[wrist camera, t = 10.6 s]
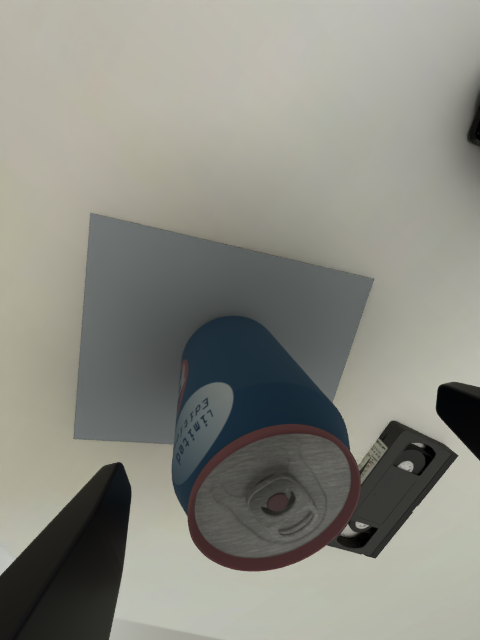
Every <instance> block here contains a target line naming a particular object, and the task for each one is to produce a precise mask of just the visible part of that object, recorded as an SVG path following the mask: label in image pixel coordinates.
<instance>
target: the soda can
mask: <svg viewBox="0 0 480 640" xmlns="http://www.w3.org/2000/svg"><path fill="white" fill-rule="evenodd" d="M172 481H173V486H174V490H175V493H176V496H177V498H178V500H179V502H180V504H181V506H182V507H183V509H184V511H185V513H186V514H187V516H188V526H189V531H190V535H191V537H192V540H193V542H194V544H195V545H196V546H197V548H198V549H199V550H200V551H201V552H202V553H203V554H204V555H205V556H206V557H207V558H209V559H210V560H212V561H213V562H215V563H217V564H219V565H222V566H224V567H227V568H230V569H234V570H240V571H267V570H273V569H278V568H282V567H285V566H289V565H291V564H294V563H297V562H299V561H301V560H303V559H305V558H307V557H309V556H311V555H313V554H314V553H316V552H318V551H319V550H320V549H322V548H323V547H325V546H326V545H327V544H328V543H329V542H331V541H332V540H333V539H334V538H335V537H336V536H337V535H338V534H339V533H340V532H341V530H342V529H343V528H344V527H345V525H346V524H347V523H348V521H349V520H350V518H351V516H352V514H353V513H354V510H355V508H356V506H357V503H358V500H359V496H360V489H361V478H360V472H359V468H358V465H357V463H356V460H355V458H354V457H353V455H352V453H351V452H350V446H349V439H348V433H347V429H346V425H345V423H344V420H343V418H342V416H341V414H340V412H339V411H338V409H337V408H336V407H335V406H334V404H333V403H332V402H331V401H330V400H329V399H328V398H327V397H326V395H325V394H324V393H323V392H322V391H321V390H320V389H319V387H318V386H317V385H316V384H315V383H314V382H313V381H312V379H311V378H310V377H309V376H308V375H307V374H306V373H305V372H304V370H303V369H302V368H301V367H300V366H299V365H298V364H297V362H296V361H295V360H294V359H293V358H292V357H291V356H290V354H289V353H288V352H287V351H286V350H285V349H284V348H283V347H282V345H281V344H280V343H279V342H278V341H277V340H276V339H275V337H274V336H273V335H272V334H271V333H270V332H269V331H268V330H267V329H266V328H265V327H264V326H263V325H262V324H260V323H258V322H257V321H255V320H252V319H250V318H247V317H242V316H225V317H220V318H217V319H214V320H212V321H209V322H208V323H206V324H204V325H203V326H201V327H200V328H199V329H198V330H197V331H196V332H195V333H194V334H193V335H192V336H191V337H190V339H189V340H188V342H187V344H186V346H185V348H184V351H183V354H182V360H181V370H180V381H179V392H178V404H177V415H176V426H175V437H174V448H173V459H172Z"/></svg>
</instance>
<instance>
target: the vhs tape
mask: <svg viewBox="0 0 480 640" xmlns="http://www.w3.org/2000/svg"><path fill="white" fill-rule="evenodd" d="M384 432H385V433H384ZM384 432H382V434H381V435H380V436H379V438H378V439H377V441H376V442H375V444H374V445H373V446H372V448H371V449H370V450H369V452H368V453H367V455H366V456H365V457H364V459H363V460H362V461H361V463H360V464H359V465H358V468H359V472H360V478H361V489H360V496H359V500H358V503H357V506H356V508H355V510H354V513H353V514H352V516H351V518H350V520H349V521H348V523H347V524H349V526H350V528H351V529H352V530H353V531H355V532H364V533H367V534H368V536H369V537H370V539H369V541H368V542H367V541H364V540H360V539H357V538H356V539H355V540H354V539H350V538H346V537H343V536H339V535H340V534H341V532H342V531H343V530H344V528H345V527H346V526H347V524H346V525H345V527H344V528H343V529H342V530H341V532H340V533H339V534H338V535H337V536H336V537H335V538H334V539H333V540H332V541H331V542H329V543H328V544H327V545H328V546H332V547H335V548H339V549H343V550H347V551H351V552H354V553H358V554H364V555H365V556H368V557H372V558H376V557H377V556H378V555H379V554H380V552H381V551H382V550H383V549H384V547H385V546H386V545H387V544H388V542H389V541H390V540H391V539H392V537H393V536H394V535H395V534H396V532H397V531H398V530H399V529H400V527H401V526H402V525H403V524H404V523H405V521H406V520H407V519H408V518H409V516H410V515H411V514H412V513H413V512H412V511H413V510H414V509H415V508H416V506H418V505H419V504H420V503H421V501H422V500H423V499H424V498H425V496H426V495H427V494H428V493H429V491H430V490H431V489H432V488H433V487H434V485H435V484H436V483H437V482H438V480H439V479H440V478H441V477H442V475H443V474H444V473H445V472H446V470H447V469H448V468H449V467H450V465H451V464H452V463H453V462H454V460H455V459H456V458H457V457H458V455H457V454H456V453H454V452H453V451H452V450H451V449H449V448H448V447H447V446H446V445H444V444H442V443H440V442H437V441H436V440H434V439H432V438H430V437H428V436H426V435H423V434H421V433H419V432H417V431H415V430H413V429H411V428H409V427H407V426H405V425H403V424H401V423H399V422H397V421H391V422H390V423H389V424H388V426H387V427H386V428H385V430H384ZM412 443H424V444H426V445H429V446H430V447H431V448H433V451H427V450H425V449H423V448H420V447H418V446H416V445H414V444H412ZM421 452H422V453H424V454H426V458H425V457H424V455H423V454H422V453H421ZM422 471H423V472H422ZM375 527H376V528H378V529H376V528H375ZM361 541H362V542H361ZM365 542H366V543H365Z"/></svg>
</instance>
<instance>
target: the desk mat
mask: <svg viewBox="0 0 480 640" xmlns="http://www.w3.org/2000/svg"><path fill="white" fill-rule="evenodd" d="M373 281H374V279H373V278H369V277H364V276H360V275H356V274H351V273H347V272H343V271H338V270H334V269H330V268H325V267H321V266H317V265H312V264H308V263H304V262H300V261H295V260H291V259H287V258H282V257H278V256H274V255H269V254H265V253H261V252H256V251H252V250H248V249H244V248H239V247H235V246H231V245H226V244H222V243H218V242H213V241H209V240H205V239H200V238H196V237H192V236H187V235H183V234H179V233H175V232H170V231H166V230H162V229H157V228H153V227H149V226H144V225H140V224H136V223H131V222H127V221H123V220H119V219H114V218H110V217H106V216H101V215H97V214H93V213H90V226H89V239H88V252H87V266H86V279H85V292H84V305H83V318H82V332H81V345H80V358H79V371H78V385H77V398H76V411H75V424H74V438H73V439H83V440H102V441H121V442H140V443H159V444H174V437H175V426H176V415H177V404H178V392H179V381H180V370H181V360H182V354H183V351H184V348H185V346H186V344H187V342H188V340H189V339H190V337H191V336H192V335H193V334H194V333H195V332H196V331H197V330H198V329H199V328H200V327H201V326H203V325H204V324H206V323H208V322H209V321H212V320H214V319H217V318H220V317H225V316H242V317H247V318H250V319H252V320H255V321H257V322H258V323H260V324H262V325H263V326H264V327H265V328H266V329H267V330H268V331H269V332H270V333H271V334H272V335H273V336H274V337H275V339H276V340H277V341H278V342H279V343H280V344H281V345H282V347H283V348H284V349H285V350H286V351H287V352H288V353H289V354H290V356H291V357H292V358H293V359H294V360H295V361H296V362H297V364H298V365H299V366H300V367H301V368H302V369H303V370H304V372H305V373H306V374H307V375H308V376H309V377H310V378H311V379H312V381H313V382H314V383H315V384H316V385H317V386H318V387H319V389H320V390H321V391H322V392H323V393H324V394H325V395H326V397H327V398H328V399H329V400H330V401H331V402H333V399H334V396H335V393H336V390H337V387H338V384H339V381H340V378H341V375H342V372H343V369H344V367H345V364H346V361H347V358H348V355H349V352H350V349H351V346H352V343H353V340H354V337H355V334H356V331H357V328H358V325H359V322H360V319H361V316H362V313H363V310H364V307H365V304H366V301H367V299H368V296H369V293H370V290H371V287H372V284H373Z"/></svg>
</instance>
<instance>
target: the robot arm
mask: <svg viewBox="0 0 480 640" xmlns="http://www.w3.org/2000/svg"><path fill="white" fill-rule="evenodd" d="M478 132H479V134H478ZM469 136H470V140H471V141H472V142H474V143H476V144H478V145H480V107H479V110H478V113H477V115H476V118H475V121H474V123H473V126H472V129H471V131H470V135H469ZM436 411H437V414H438V415H439V417H440V418H441V419H442V420H443V421H444V423H445V424H446V425H447V426H448V427H449V428H450V429H451V430H452V431H453V432H454V433H455V434H456V436H457V437H458V438H459V439H460V440H461V441H462V442H463V443H464V444H465V445H466V446H467V447H468V449H469V450H470V451H471V452H472V453H473V454H474V455H475V456H476V457H477V458H478V459H479V460H480V387H476V386H472V385H467V384H463V383H458V382H449V383H445V384H442V385H440V386H439V387H438V391H437V401H436ZM130 504H131V486H130V483H129V480H128V477H127V474H126V471H125V469H124V466H123V464H122V463H120V462H117V463H113V464H109V465H105V466H103V467H102V468H101V469H100V470H99V471H98V472H97V473H96V474H95V475H94V476H93V477H92V479H91V480H90V481H89V482H88V483H87V484H86V485H85V486H84V487H83V488H82V489H81V490H80V491H79V492H78V493H77V495H76V496H75V497H74V498H73V499H72V500H71V501H70V502H69V503H68V504H67V505H66V506H65V507H64V508H63V509H62V511H61V512H60V513H59V514H58V515H57V516H56V517H55V518H54V519H53V520H52V521H51V522H50V523H49V524H48V525H47V527H46V528H45V529H44V530H43V531H42V532H41V533H40V534H39V535H38V536H37V537H36V538H35V539H34V540H33V541H32V542H31V544H30V545H29V546H28V547H27V548H26V549H25V550H24V551H23V552H22V553H21V554H20V555H19V556H18V557H17V558H16V560H15V561H14V562H13V563H12V564H11V565H10V566H9V567H8V568H7V569H6V570H5V571H4V572H3V573H2V574H1V576H0V640H109V637H110V632H111V627H112V622H113V617H114V612H115V608H116V603H117V598H118V593H119V588H120V583H121V577H122V572H123V565H124V558H125V549H126V540H127V531H128V522H129V513H130Z"/></svg>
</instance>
